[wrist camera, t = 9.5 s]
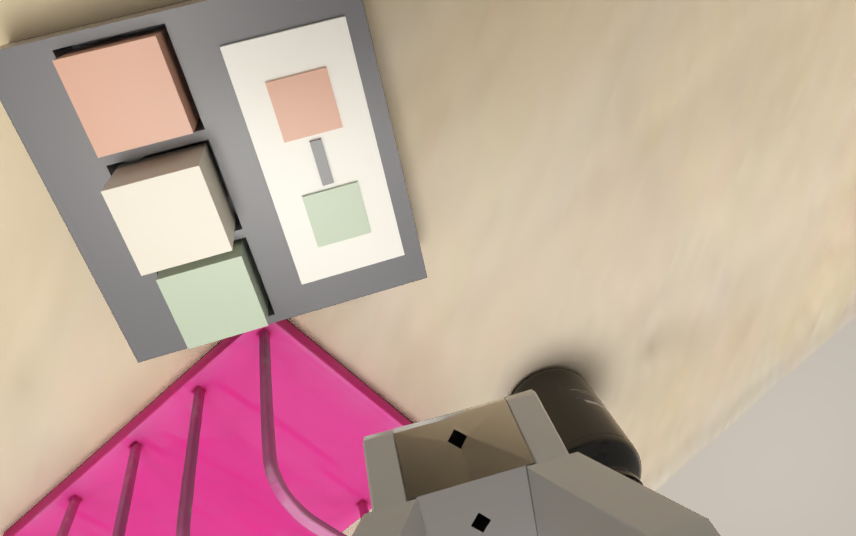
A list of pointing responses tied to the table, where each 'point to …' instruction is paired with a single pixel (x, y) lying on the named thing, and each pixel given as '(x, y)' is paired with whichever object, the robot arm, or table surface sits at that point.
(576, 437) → the supplement bottle
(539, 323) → the table surface
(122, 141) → the key terracotta
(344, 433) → the file sorter
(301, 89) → the keypad base
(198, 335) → the key sage
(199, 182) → the block
